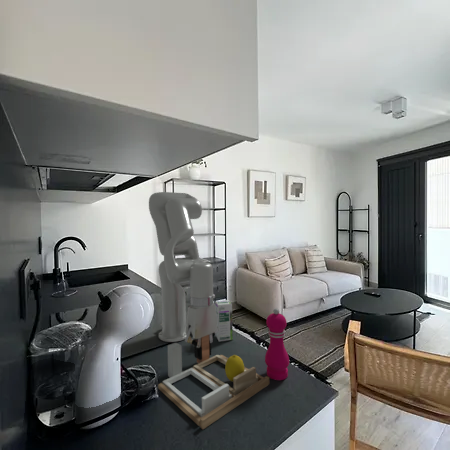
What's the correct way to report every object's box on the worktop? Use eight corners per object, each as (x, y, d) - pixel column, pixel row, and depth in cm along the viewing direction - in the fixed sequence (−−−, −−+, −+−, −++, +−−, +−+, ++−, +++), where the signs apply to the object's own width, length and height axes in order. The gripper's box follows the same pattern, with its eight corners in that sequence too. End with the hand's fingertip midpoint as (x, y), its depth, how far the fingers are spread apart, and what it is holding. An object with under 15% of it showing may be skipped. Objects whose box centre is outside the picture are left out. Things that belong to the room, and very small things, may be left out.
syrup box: (218, 342, 103) (217, 304, 103) (215, 335, 108) (214, 300, 108) (232, 340, 104) (232, 303, 104) (229, 334, 110) (228, 299, 110)
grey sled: (157, 380, 78) (156, 349, 78) (186, 367, 85) (185, 338, 84) (201, 419, 62) (200, 380, 62) (232, 399, 69) (231, 364, 69)
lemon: (228, 390, 73) (228, 361, 73) (223, 378, 79) (222, 351, 79) (247, 386, 75) (246, 358, 75) (241, 375, 80) (240, 349, 80)
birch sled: (187, 365, 86) (187, 337, 85) (211, 354, 92) (211, 328, 92) (233, 396, 70) (232, 362, 70) (258, 381, 77) (257, 349, 77)
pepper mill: (265, 367, 85) (264, 304, 84) (288, 368, 83) (287, 305, 83) (265, 380, 77) (263, 312, 77) (290, 382, 76) (289, 313, 76)
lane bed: (158, 388, 75) (158, 381, 75) (221, 358, 91) (221, 352, 91) (202, 429, 60) (202, 420, 60) (269, 384, 76) (269, 377, 76)
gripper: (213, 293, 96) (214, 344, 96) (174, 303, 85) (175, 361, 85) (227, 297, 90) (228, 351, 91) (187, 309, 79) (188, 370, 80)
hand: (203, 355), depth 88 cm, fingers closed on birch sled, 3 cm apart
